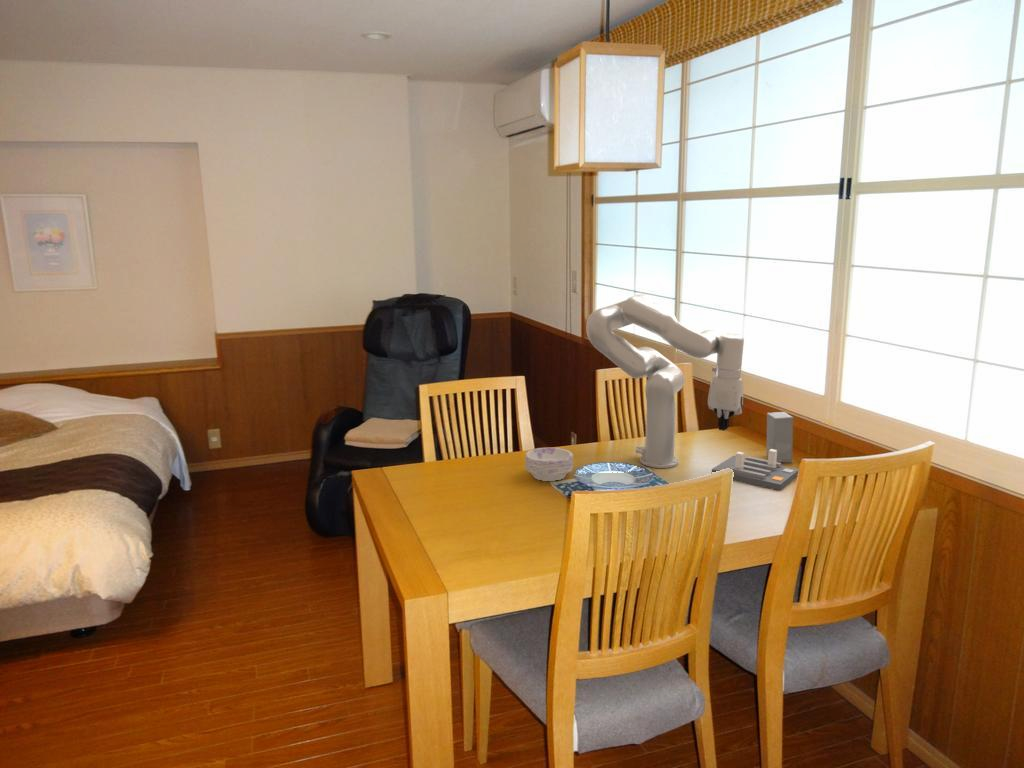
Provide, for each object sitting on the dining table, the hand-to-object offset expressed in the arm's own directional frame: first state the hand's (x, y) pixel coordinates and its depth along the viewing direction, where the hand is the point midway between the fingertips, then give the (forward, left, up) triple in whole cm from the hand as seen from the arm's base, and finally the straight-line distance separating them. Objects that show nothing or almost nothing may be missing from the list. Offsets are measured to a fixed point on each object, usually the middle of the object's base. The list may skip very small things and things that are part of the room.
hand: (723, 429), depth 236 cm
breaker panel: (+10, +5, -15) cm, 18 cm away
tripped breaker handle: (+6, 0, -12) cm, 14 cm away
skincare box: (+10, +25, -15) cm, 30 cm away
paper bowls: (-41, -37, -15) cm, 58 cm away
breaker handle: (+13, +9, -12) cm, 20 cm away
